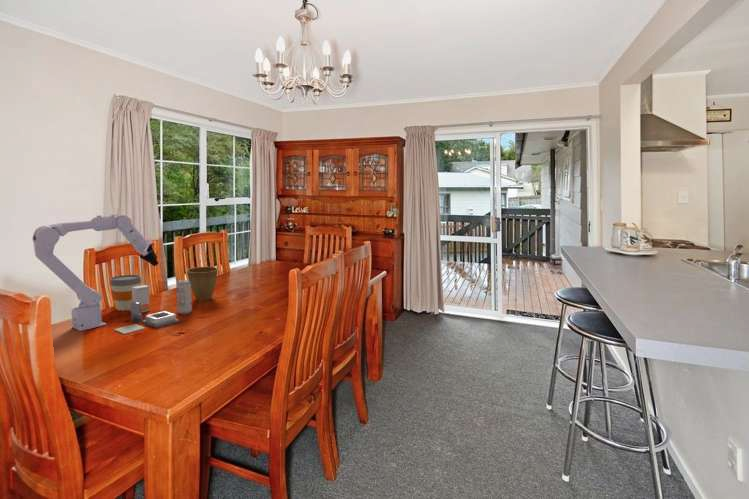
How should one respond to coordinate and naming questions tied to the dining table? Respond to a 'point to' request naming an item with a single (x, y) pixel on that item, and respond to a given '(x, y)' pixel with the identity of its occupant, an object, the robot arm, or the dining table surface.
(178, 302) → the energy drink can
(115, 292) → the reusable coffee cup
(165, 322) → the socket block
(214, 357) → the dining table surface
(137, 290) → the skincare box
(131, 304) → the key peg
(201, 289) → the plant pot
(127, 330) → the mat
